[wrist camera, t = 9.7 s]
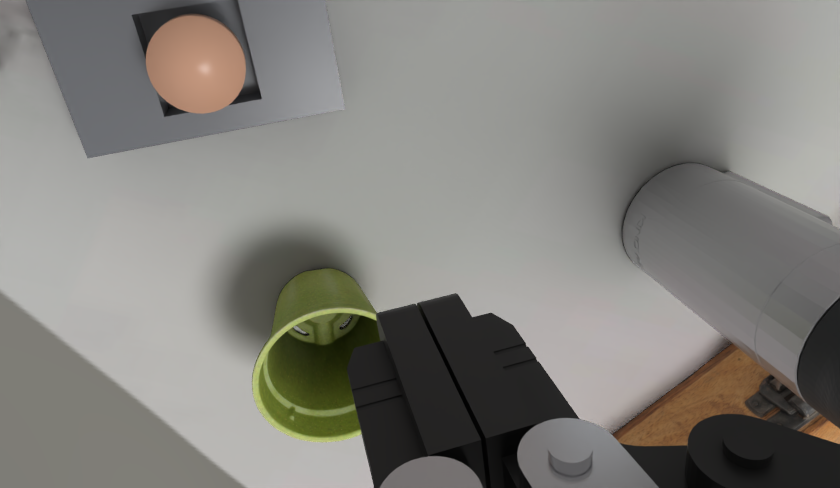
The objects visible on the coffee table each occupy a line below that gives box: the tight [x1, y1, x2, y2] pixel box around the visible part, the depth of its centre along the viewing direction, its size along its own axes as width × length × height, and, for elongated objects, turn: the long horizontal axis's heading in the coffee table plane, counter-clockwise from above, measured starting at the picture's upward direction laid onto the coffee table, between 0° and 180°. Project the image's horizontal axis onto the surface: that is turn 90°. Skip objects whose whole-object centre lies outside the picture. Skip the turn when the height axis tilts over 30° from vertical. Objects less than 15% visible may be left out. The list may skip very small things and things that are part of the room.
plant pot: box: [252, 268, 380, 442], centre depth 40 cm, size 9×9×9 cm
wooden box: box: [612, 343, 840, 446], centre depth 53 cm, size 30×16×14 cm, turn 126°
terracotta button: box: [146, 14, 246, 114], centre depth 32 cm, size 5×5×4 cm
